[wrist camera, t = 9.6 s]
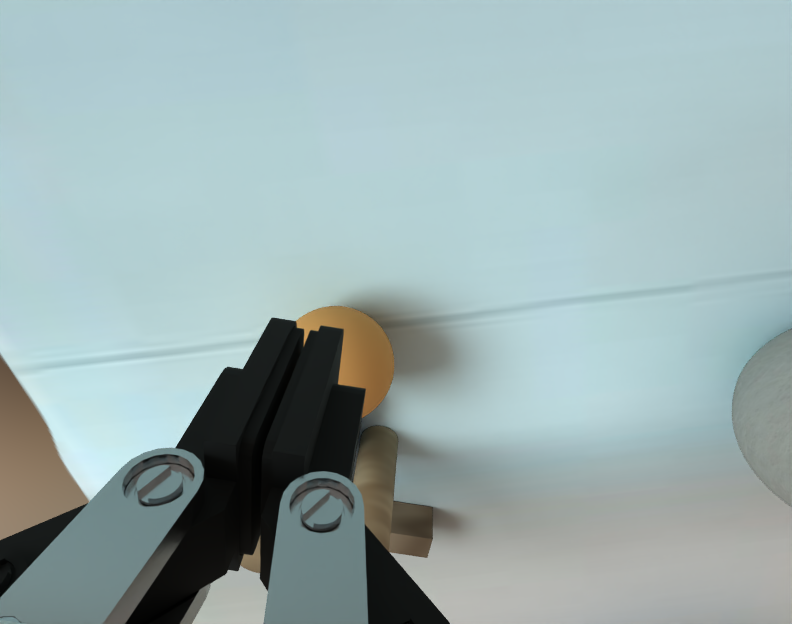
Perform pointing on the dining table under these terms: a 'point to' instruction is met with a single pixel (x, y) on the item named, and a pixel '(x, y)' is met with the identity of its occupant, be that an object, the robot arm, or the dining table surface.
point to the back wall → (411, 529)
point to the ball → (767, 415)
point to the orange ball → (357, 351)
